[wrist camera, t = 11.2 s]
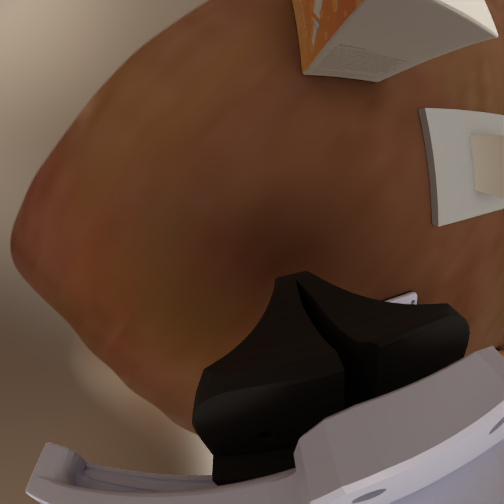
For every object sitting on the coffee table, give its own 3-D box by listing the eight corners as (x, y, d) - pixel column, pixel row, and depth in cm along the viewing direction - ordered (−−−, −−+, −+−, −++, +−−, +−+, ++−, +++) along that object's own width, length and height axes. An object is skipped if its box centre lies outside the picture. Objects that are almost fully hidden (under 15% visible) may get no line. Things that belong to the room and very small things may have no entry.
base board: (516, 200, 19) (522, 202, 18) (431, 223, 20) (438, 226, 19) (509, 117, 16) (515, 117, 15) (418, 109, 17) (424, 107, 16)
